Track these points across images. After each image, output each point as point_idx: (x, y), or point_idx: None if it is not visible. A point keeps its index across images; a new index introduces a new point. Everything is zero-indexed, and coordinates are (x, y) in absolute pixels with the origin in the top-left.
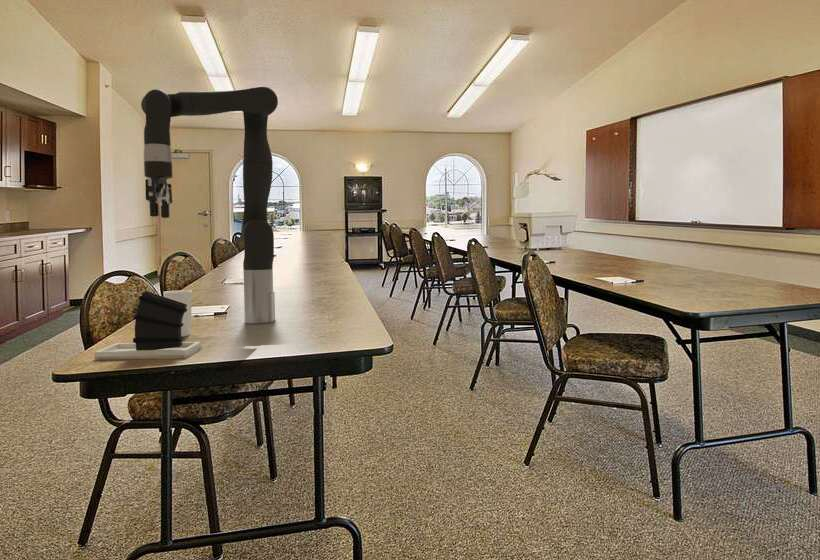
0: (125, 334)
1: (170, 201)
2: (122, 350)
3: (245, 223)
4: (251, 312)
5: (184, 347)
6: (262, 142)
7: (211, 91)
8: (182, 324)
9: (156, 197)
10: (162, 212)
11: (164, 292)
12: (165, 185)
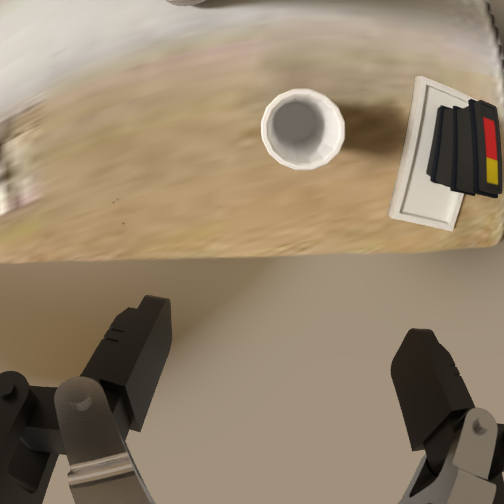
0: (202, 242)
1: (29, 401)
2: (417, 200)
3: None
4: None
5: (423, 103)
6: None
7: None
8: (460, 107)
9: (485, 460)
10: (157, 368)
11: (325, 164)
12: None
